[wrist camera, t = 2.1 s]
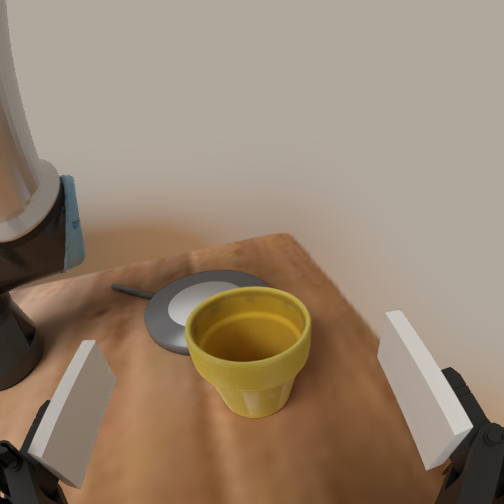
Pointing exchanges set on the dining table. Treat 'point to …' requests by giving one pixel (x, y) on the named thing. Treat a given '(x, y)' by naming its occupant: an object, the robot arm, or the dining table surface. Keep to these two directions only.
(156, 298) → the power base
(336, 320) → the dining table surface
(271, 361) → the plant pot
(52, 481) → the robot arm
